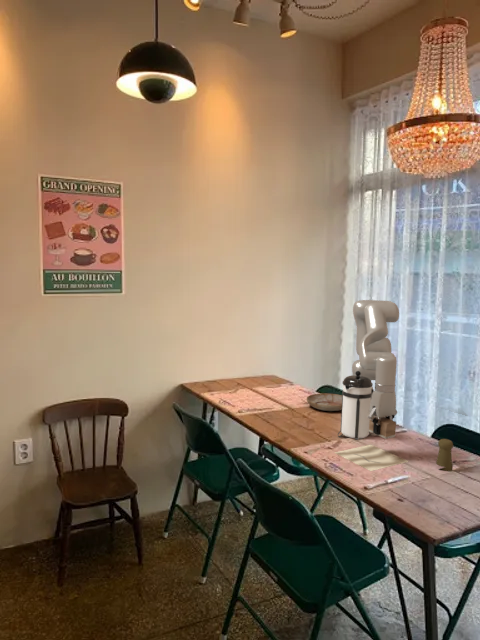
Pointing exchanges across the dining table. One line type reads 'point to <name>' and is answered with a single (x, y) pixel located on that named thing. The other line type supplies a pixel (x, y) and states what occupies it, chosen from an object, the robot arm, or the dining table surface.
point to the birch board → (371, 457)
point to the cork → (445, 455)
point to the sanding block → (385, 428)
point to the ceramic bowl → (326, 401)
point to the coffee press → (356, 406)
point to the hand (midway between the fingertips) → (381, 432)
